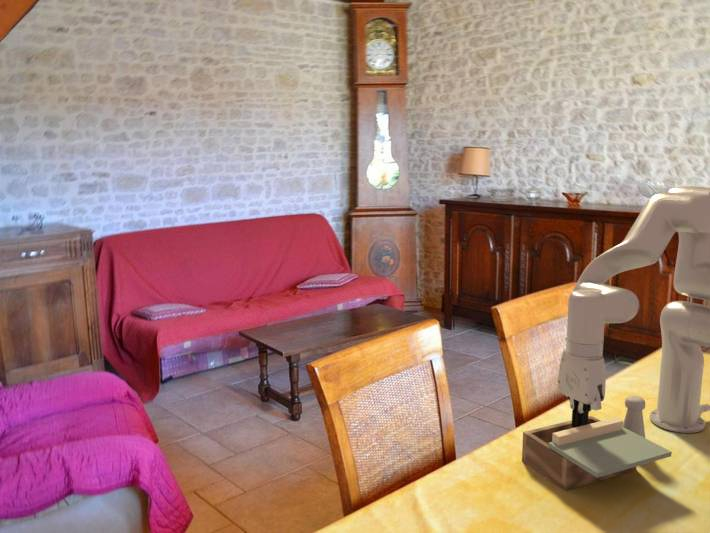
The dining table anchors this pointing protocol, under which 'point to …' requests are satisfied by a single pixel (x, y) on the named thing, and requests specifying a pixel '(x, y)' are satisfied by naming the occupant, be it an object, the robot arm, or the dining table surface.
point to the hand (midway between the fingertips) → (579, 426)
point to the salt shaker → (634, 415)
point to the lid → (606, 447)
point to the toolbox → (557, 458)
